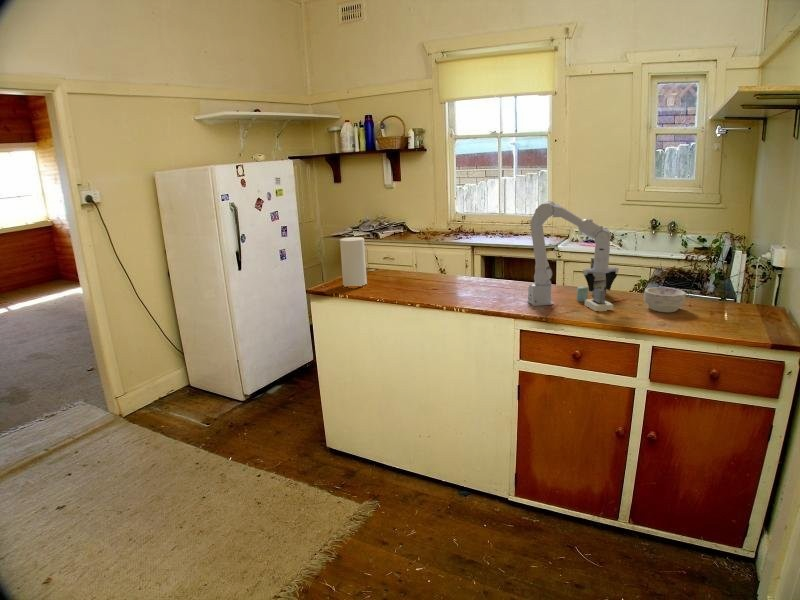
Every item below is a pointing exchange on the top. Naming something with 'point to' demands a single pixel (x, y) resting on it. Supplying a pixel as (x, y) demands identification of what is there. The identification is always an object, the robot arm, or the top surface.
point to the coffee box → (598, 279)
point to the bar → (599, 296)
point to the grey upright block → (582, 293)
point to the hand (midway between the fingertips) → (599, 290)
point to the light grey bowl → (664, 299)
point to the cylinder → (353, 261)
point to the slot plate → (598, 305)
